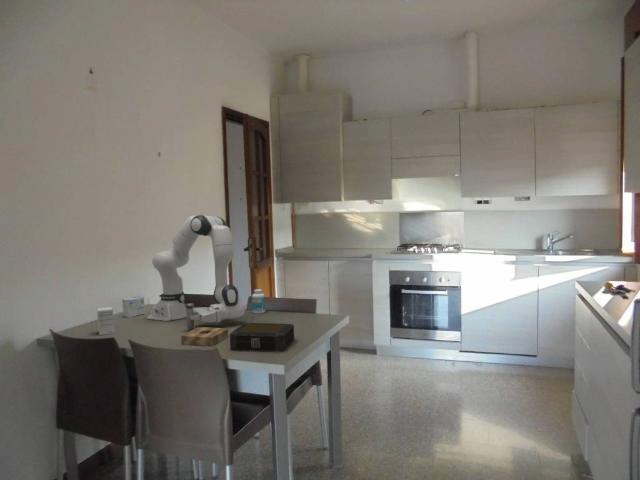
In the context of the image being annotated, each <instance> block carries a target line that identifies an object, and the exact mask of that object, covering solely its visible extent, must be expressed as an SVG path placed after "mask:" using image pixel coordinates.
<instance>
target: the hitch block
mask: <svg viewBox="0 0 640 480" xmlns="http://www.w3.org/2000/svg"><path fill="white" fill-rule="evenodd" d="M227 338H229V328H228V327H227V328H226V327H208V326H207V327H205V326H202V327H201V326H198V327H196V328H194V330H192V331H190V332H188V331H187V332H186V333H183V334H182V335H180V342H181V345H183V346H186V345H187V346H202V347H204V346H205V347H213V346H215V345H216V344H219V343H221V342H222V341H223V339H224V340H226V339H227ZM218 342H219V343H218Z"/></svg>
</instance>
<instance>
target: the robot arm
mask: <svg viewBox="0 0 640 480" xmlns="http://www.w3.org/2000/svg"><path fill="white" fill-rule="evenodd" d="M199 236H203V237H207V236H208V237H210V238H211V245H212V252H213V253H212V254H213V255H212V256H213V260H214V261H213V262H214V276H215V287H214V289H213V300H214V302H215V303H214V304H210V305H209V307H207V306H206V307H202V306H201V307H193V314H194V316H193V315H191V316H190V319H191V320H192V319H194V320H199V321H201V322H202V323H214V322H216V323H221V321H224V320H233V319H237V318H241V317H243V316H244V314H245V312H246V303H245V301H243V300H242V298H241V296H240V294H239V290H238V288H237V287H236V286H234V285H233V284H228V267H229V265H230V263H231V261H232V260H233V258H234V254H235V252H234V251H235V249H234V241H233V235H232V232H231V229H230V228H229V226H227V222H226V221H225V219H223V218H222V217H220V216H214V215H209V214H208V215H204V214H199V215H190V216H189V217H187V219H186V220H185V221H184V222H183V223H182V224H181V226H180V227H179V229H177V232H176V233H175V235H174V236H173V238H172V243H173V244H172V247H170V249H167V250H163V251H160V252H157V253H156V254H154V255H153V257H152V262H151V263H152V266H153V268H155V270H157V271H158V274H159V275H160V278H161V283H162V293H160V295H158V296H159V298H160V299H159V301H158V302H157V303H155V304H154V305H153V306H152V308H151V312H150V314H149V315H148V316H147V317H146V320H153V319H154V321H161V320H162V321H163V322H164V321H165V322H168V321H173V320H180V319H184V318H187V312H186V307H185V292H184V286H183V285H184V284H183V277H181V276H180V275H179V274H178V268H182V267H184V266H185V265H187V264H188V262H189V260H190V254H189V253H190V251H191V248H192V247H193V246H194V244H195V243H196V241H197V239H198V238H199Z"/></svg>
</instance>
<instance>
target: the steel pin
mask: <svg viewBox="0 0 640 480" xmlns="http://www.w3.org/2000/svg"><path fill="white" fill-rule="evenodd" d="M184 305H185V310H186V313H187V317H186V324H187V325H186V326H187V327H186V328H187V331H186V332H187V333H188V332H190V331H192V330H194V329H195V319H192V320H191V319H190V316H191V315H193V316H194V314H193V309H194V307H195V303H193V302H191V303H184Z"/></svg>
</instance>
